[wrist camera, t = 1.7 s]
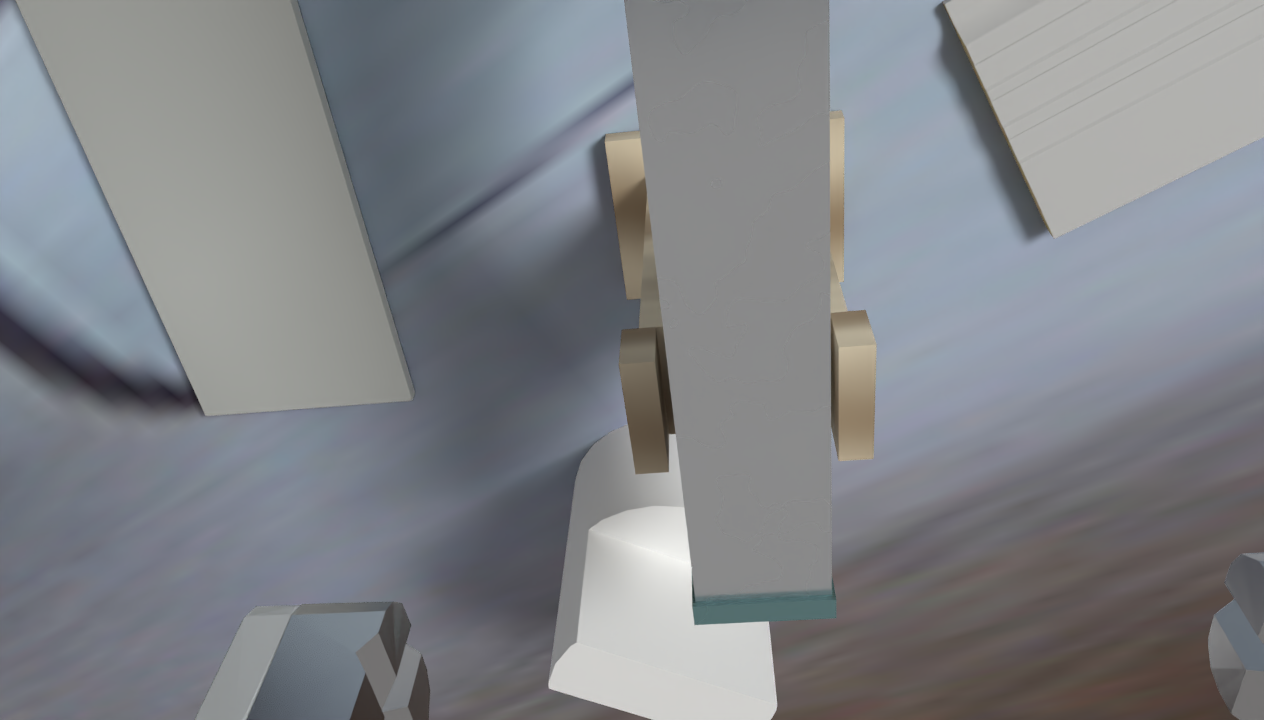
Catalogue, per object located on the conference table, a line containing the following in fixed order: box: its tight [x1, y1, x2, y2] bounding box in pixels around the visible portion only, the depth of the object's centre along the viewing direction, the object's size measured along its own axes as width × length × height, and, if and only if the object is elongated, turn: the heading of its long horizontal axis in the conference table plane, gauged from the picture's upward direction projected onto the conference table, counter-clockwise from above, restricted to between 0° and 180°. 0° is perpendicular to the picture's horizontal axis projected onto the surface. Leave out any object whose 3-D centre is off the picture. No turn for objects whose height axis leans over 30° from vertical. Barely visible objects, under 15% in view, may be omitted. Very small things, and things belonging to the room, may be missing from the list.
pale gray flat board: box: [15, 0, 415, 416], centre depth 35 cm, size 34×10×1 cm, turn 7°
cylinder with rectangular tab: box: [549, 425, 777, 720], centre depth 42 cm, size 9×9×12 cm
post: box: [605, 111, 876, 474], centre depth 33 cm, size 7×9×14 cm
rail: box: [624, 0, 836, 625], centre depth 22 cm, size 30×4×4 cm, turn 7°
